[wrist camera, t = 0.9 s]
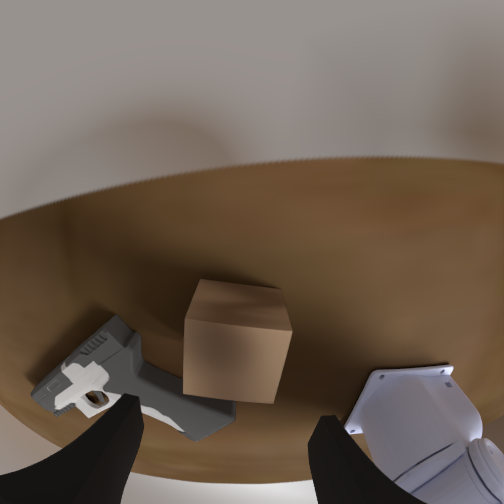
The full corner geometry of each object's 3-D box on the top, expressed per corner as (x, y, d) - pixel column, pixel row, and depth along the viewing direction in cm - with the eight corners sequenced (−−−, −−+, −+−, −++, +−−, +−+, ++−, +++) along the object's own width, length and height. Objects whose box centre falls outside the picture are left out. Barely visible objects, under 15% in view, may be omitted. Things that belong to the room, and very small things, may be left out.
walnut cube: (281, 288, 18) (292, 331, 13) (267, 353, 19) (273, 403, 14) (200, 278, 17) (184, 318, 13) (195, 344, 19) (183, 393, 14)
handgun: (241, 425, 19) (120, 315, 16) (113, 466, 22) (27, 395, 19) (242, 403, 21) (133, 298, 18) (119, 450, 24) (38, 381, 21)
